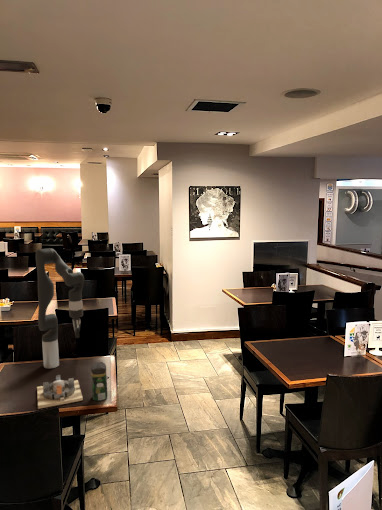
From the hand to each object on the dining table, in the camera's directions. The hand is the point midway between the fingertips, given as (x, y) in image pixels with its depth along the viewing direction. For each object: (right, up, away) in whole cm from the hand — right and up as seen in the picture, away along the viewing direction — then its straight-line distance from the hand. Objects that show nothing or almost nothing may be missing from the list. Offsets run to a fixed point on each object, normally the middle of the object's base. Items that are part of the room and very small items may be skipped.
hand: (77, 337), depth 229 cm
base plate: (-7, -29, -10) cm, 32 cm away
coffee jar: (+16, -29, -13) cm, 36 cm away
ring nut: (-7, -27, -11) cm, 30 cm away
